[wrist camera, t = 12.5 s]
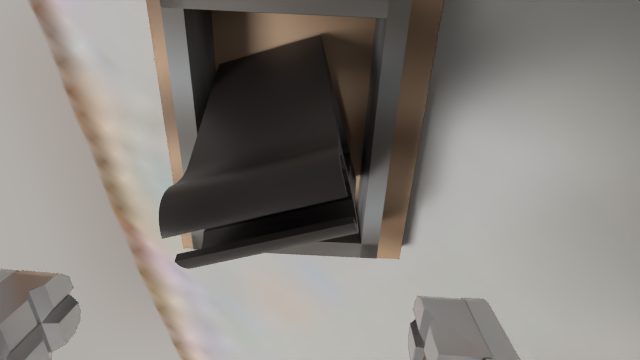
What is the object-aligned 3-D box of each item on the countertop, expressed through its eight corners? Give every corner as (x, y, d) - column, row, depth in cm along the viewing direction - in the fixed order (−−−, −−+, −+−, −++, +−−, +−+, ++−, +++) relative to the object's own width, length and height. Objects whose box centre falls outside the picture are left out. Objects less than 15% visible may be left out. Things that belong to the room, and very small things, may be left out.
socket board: (395, 246, 27) (410, 298, 22) (190, 236, 27) (159, 285, 22) (446, -62, 19) (488, -91, 14) (148, -75, 19) (82, -109, 14)
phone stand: (356, 176, 23) (380, 319, 12) (270, 196, 24) (219, 346, 13) (321, 34, 19) (311, 54, 8) (221, 62, 20) (94, 114, 9)
